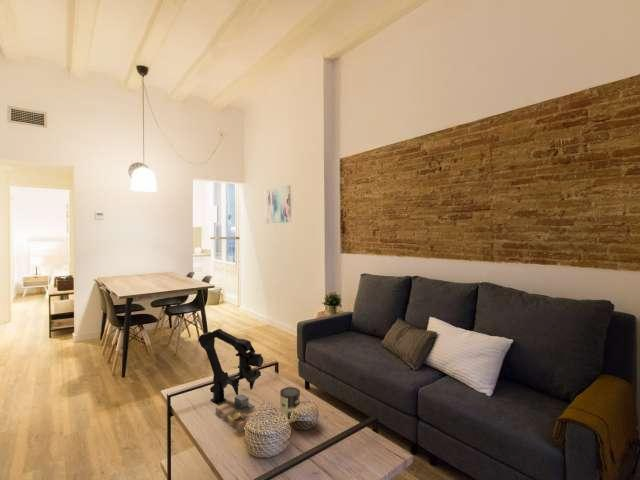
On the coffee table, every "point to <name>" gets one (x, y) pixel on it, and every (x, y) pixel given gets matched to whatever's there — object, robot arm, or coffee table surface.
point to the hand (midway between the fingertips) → (244, 392)
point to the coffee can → (289, 400)
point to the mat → (242, 409)
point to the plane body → (223, 413)
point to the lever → (235, 416)
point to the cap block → (241, 401)
